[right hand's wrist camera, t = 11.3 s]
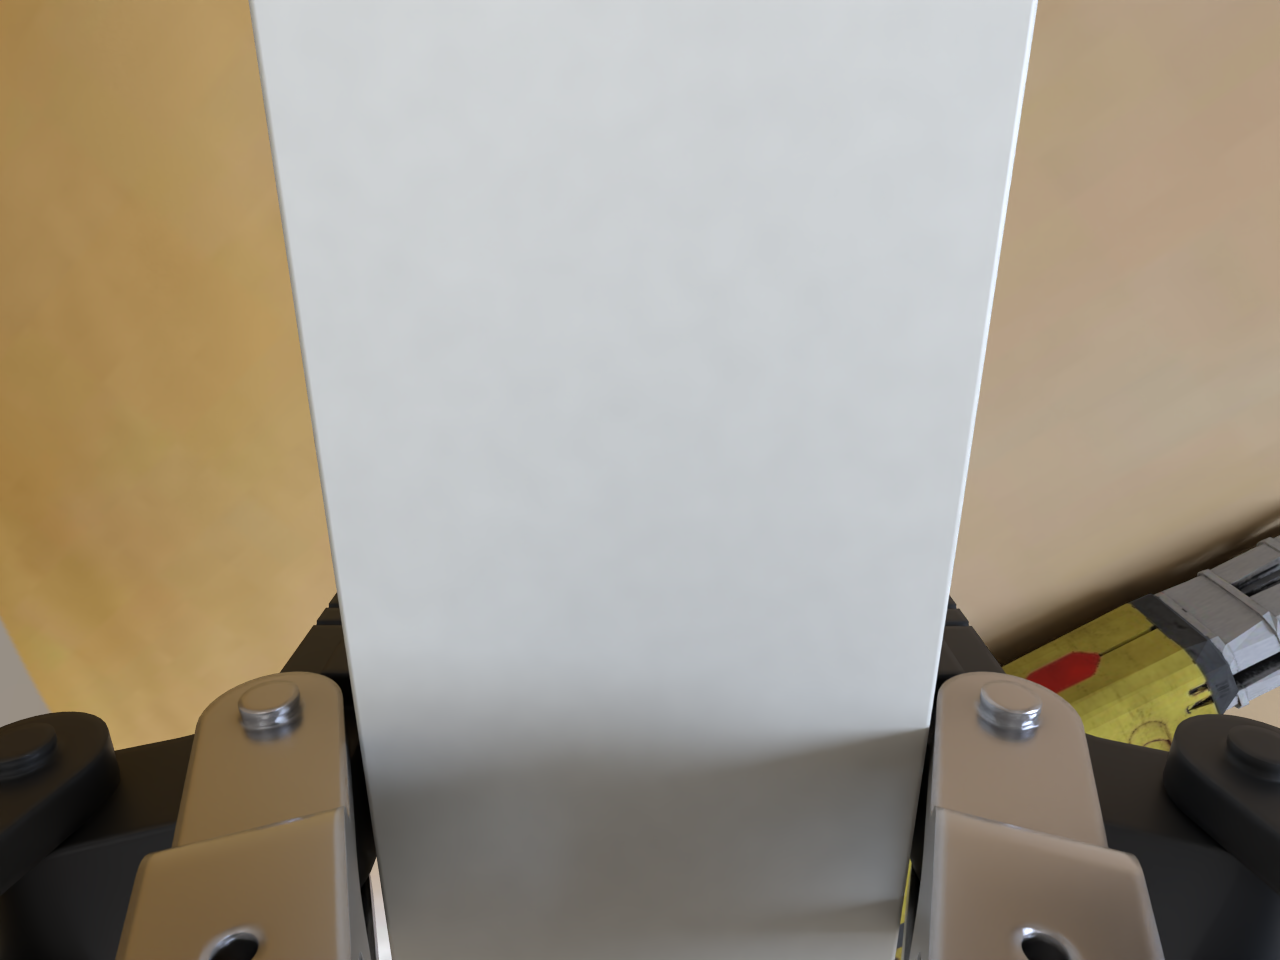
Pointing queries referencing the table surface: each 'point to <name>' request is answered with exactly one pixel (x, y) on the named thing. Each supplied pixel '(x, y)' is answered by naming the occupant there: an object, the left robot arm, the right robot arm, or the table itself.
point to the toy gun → (1167, 656)
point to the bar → (643, 444)
